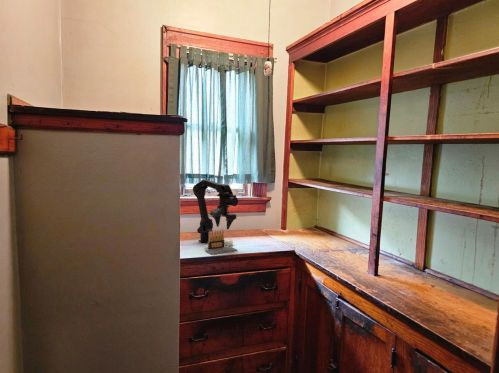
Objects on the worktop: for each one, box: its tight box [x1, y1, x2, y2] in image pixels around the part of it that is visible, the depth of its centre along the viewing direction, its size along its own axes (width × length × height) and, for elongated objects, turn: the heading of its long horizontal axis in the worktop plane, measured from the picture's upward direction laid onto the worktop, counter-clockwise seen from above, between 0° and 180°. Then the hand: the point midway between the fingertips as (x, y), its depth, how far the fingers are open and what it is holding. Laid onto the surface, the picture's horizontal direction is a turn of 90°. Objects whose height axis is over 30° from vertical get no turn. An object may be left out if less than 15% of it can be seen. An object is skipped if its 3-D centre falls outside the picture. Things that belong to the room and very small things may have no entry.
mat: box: [204, 246, 238, 256], centre depth 194 cm, size 9×18×1 cm, turn 124°
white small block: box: [224, 238, 234, 247], centre depth 207 cm, size 6×6×4 cm
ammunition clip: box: [207, 228, 225, 250], centre depth 199 cm, size 11×2×12 cm, turn 121°
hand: (222, 228), depth 202 cm, fingers open, 9 cm apart
